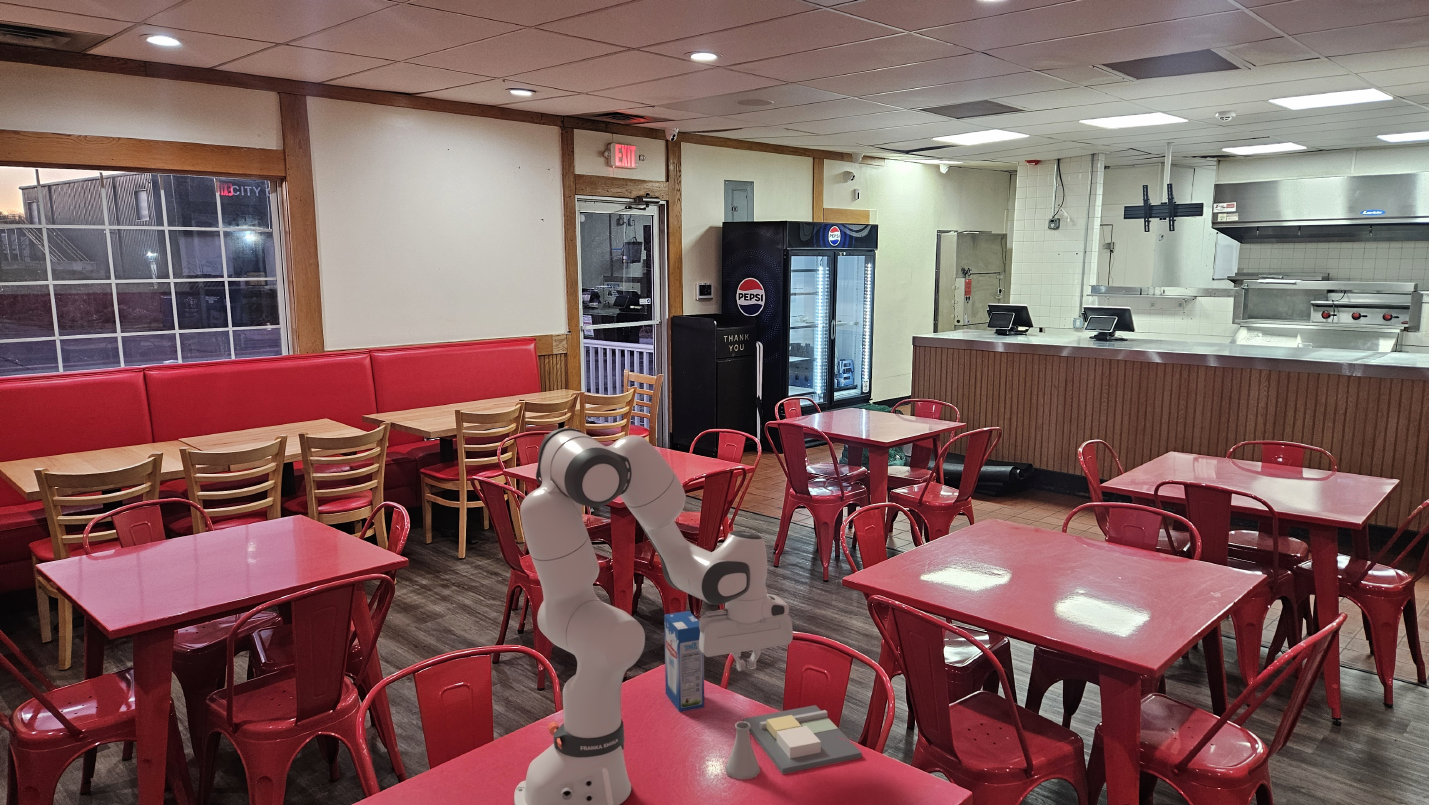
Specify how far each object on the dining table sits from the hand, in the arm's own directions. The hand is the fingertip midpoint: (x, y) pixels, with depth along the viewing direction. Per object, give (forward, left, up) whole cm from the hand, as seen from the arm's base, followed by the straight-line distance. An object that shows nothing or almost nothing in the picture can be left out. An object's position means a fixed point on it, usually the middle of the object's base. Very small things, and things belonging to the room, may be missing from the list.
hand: (746, 668), depth 193 cm
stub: (+8, -1, -16) cm, 18 cm away
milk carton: (-6, +24, -17) cm, 30 cm away
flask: (-4, -9, -17) cm, 20 cm away
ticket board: (+12, -2, -17) cm, 21 cm away
